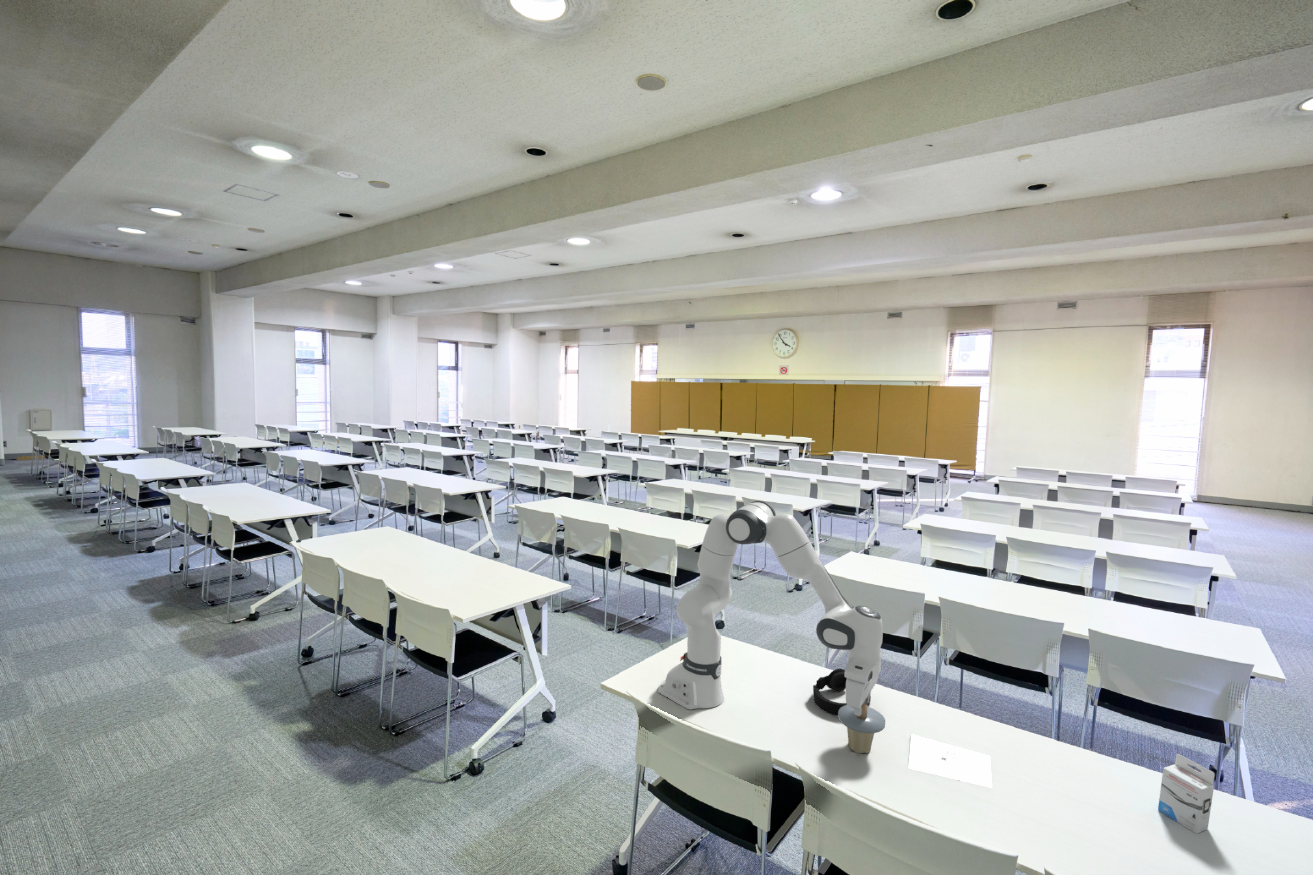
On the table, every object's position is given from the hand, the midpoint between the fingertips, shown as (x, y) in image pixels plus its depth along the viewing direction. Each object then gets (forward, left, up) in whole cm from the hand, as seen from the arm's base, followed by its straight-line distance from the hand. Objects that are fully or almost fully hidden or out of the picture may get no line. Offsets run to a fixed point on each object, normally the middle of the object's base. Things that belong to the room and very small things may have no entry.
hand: (861, 708), depth 174 cm
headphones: (-12, +22, -12) cm, 28 cm away
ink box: (+74, +19, -12) cm, 77 cm away
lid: (0, 0, -4) cm, 4 cm away
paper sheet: (+23, +3, -13) cm, 27 cm away
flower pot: (0, 0, -12) cm, 12 cm away
